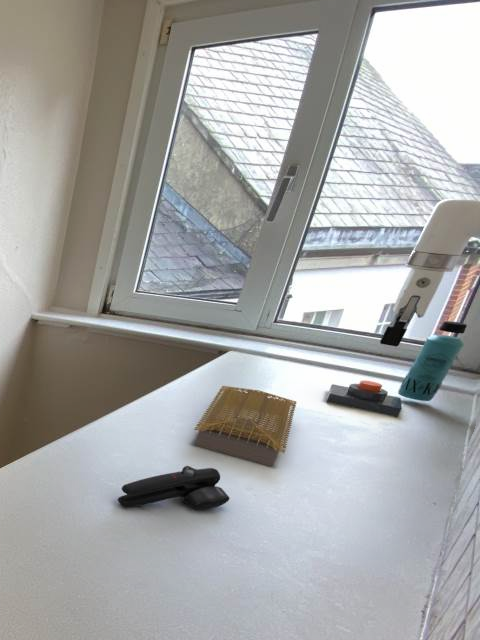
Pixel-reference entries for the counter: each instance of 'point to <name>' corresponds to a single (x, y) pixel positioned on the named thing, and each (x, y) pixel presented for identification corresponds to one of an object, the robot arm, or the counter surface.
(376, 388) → the button
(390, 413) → the switch box
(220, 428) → the rafter model
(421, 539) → the counter surface
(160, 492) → the can opener
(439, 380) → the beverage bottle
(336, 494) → the counter surface
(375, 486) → the counter surface
